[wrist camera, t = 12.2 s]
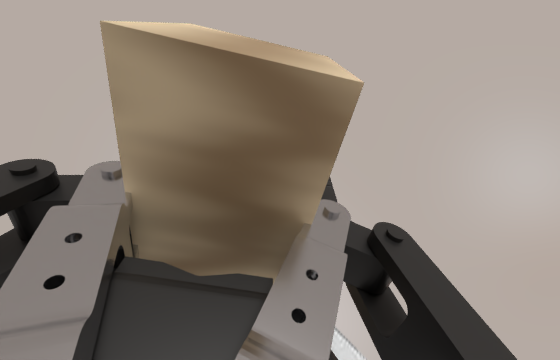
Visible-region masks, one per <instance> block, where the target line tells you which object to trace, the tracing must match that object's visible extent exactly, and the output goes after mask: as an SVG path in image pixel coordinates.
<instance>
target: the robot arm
mask: <svg viewBox="0 0 560 360" xmlns="http://www.w3.org/2000/svg"><path fill="white" fill-rule="evenodd" d="M132 208H133V203H132V196H131V193H129V192H125V189H124V182H123V176H122V169H121V162H120V161H109V162H102V163H99V164H96V165H93V166H91V167H90V168H88V169H87V170H86V172H85V174H84V175H58V174H57V171H56V168H55V165H54V164H53V163H52V162H49V161H46V160H41V159H24V160H17V161H12V162H8V163H5V164H3V165H0V216H2V215H4V214H6V213H7V214H8V216H9V218H10V220H11V222H12V224H13V226H14V229H12V230H10V231H8V232H7V233H5V234H3V235H1V236H0V360H338V359H337V357H336V356H335V355H334V353H333V352H332V350H331V344H332V339H333V333H334V328H335V322H336V317H337V312H338V306H339V301H340V295H341V289H342V284H343V281H344V282H346V286H347V288H348V290H349V292H350V294H351V297H352V299H353V301H354V303H355V305H356V307H357V309H358V311H359V313H360V316H361V318H362V320H363V322H364V324H365V326H366V328H367V330H368V332H369V334H370V336H371V338H372V340H373V343H374V345H375V347H376V349H377V351H378V353H379V355H380V357H381V359H382V360H517V359H516V358H515V356H514V355H513V354H512V353H511V352H510V351H509V349H508V348H507V347H506V346H505V345H504V344H503V343H502V341H501V340H500V339H499V338H498V337H497V336H496V334H495V333H494V332H493V331H492V330H491V329H490V328H489V326H488V325H487V324H486V323H485V322H484V321H483V319H481V317H480V316H479V315H478V314H477V312H476V311H475V310H474V309H473V308H472V307H471V306H470V304H469V303H468V302H467V301H466V300H465V299H464V298H463V296H462V295H461V294H460V293H459V292H458V291H457V289H456V288H455V287H454V286H453V285H452V284H451V282H450V281H449V280H448V279H447V278H446V277H445V275H444V274H443V273H442V272H441V271H440V270H439V269H438V267H437V266H436V265H435V264H434V263H433V262H432V260H431V259H430V258H429V257H428V256H427V255H426V254H425V252H424V251H423V250H422V249H421V248H420V247H419V245H418V244H417V243H416V242H415V241H414V240H413V238H412V237H411V236H410V235H409V234H408V233H407V232H406V231H404V230H403V229H401V228H400V227H398V226H396V225H394V224H391V223H386V222H379V223H377V224H376V225H375V226H374V227H373V229H372V230H370V229H368V228H365V227H363V226H360V225H358V224H356V223H354V222H352V221H350V219H351V217H350V213H349V212H348V210H347V209H346V208H345V207H343V206H342V205H341V204H339V203H337V199H336V196H335V193H334V189H333V186H332V182H331V179H330V176H329V179H328V182H327V185H326V187H325V190H324V193H323V195H322V198H321V201H320V203H319V206H318V209H317V211H316V214H315V217H314V220H313V222H312V224H306V223H304V225H303V227H302V229H301V231H300V233H298V234H297V236H296V238H295V240H294V242H293V244H292V246H291V248H290V250H289V252H288V254H287V256H286V258H285V260H284V263H283V265H282V267H281V269H280V271H279V273H278V275H277V277H276V279H275V281H274V283H273V278H266V277H260V276H253V275H246V274H240V273H236V274H222V275H209V276H197V275H194V274H192V273H189V272H187V271H184V270H182V269H179V268H177V267H174V266H172V265H169V264H167V263H164V262H160V261H153V260H147V259H140V258H139V249H138V245H135V244H132V237H131V230H130V217H131V213H132ZM392 281H393V283H394V284H395V286H396V287H397V289H398V290H399V292H400V293H401V295H402V296H403V298H404V300H405V302H406V304H407V308H408V315H406V313H405V312H404V310H403V308H402V307H401V305H400V304H399V302H398V300H397V299H396V297H395V296H394V294H393V293H392V291H391V289H390V288H389V284H390V283H391V282H392Z"/></svg>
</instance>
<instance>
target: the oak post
mask: <svg viewBox="0 0 560 360" xmlns="http://www.w3.org/2000/svg"><path fill="white" fill-rule="evenodd" d="M100 25H101V32H102V39H103V46H104V52H105V59H106V65H107V73H108V80H109V86H110V93H111V100H112V107H113V114H114V121H115V127H116V135H117V141H118V148H119V155H120V162H121V169H122V176H123V182H124V189H125V192H129V193H131V196H132V203H133V208H132V213H131V217H130V230H131V237H132V244H135V245H138V249H139V258H140V259H147V260H153V261H160V262H164V263H167V264H169V265H172V266H174V267H177V268H179V269H182V270H184V271H187V272H189V273H192V274H194V275H197V276H209V275H222V274H236V273H240V274H246V275H253V276H260V277H266V278H273V283H274V281H275V279H276V277H277V275H278V273H279V271H280V269H281V267H282V265H283V263H284V260H285V258H286V256H287V254H288V252H289V250H290V248H291V246H292V244H293V242H294V240H295V238H296V236H297V234H298V233H300V231H301V229H302V227H303V225H304V223H306V224H312V222H313V220H314V217H315V214H316V211H317V209H318V206H319V203H320V201H321V198H322V195H323V193H324V190H325V187H326V185H327V182H328V179H329V176H330V174H331V171H332V168H333V165H334V163H335V160H336V158H337V154H338V152H339V149H340V147H341V144H342V141H343V138H344V136H345V133H346V131H347V128H348V125H349V122H350V120H351V117H352V114H353V112H354V109H355V106H356V103H357V101H358V98H359V96H360V93H361V90H362V87H363V85H364V82H362V81H361V80H360V79H358V78H357V77H355V76H354V75H353V74H351V73H350V72H348V71H347V70H346V69H344V68H343V67H341V66H340V65H339V64H337V63H336V62H334V61H333V60H332V59H330V58H328V57H327V56H323V55H319V54H314V53H311V52H306V51H302V50H298V49H294V48H290V47H286V46H281V45H278V44H273V43H269V42H265V41H261V40H257V39H253V38H249V37H244V36H240V35H236V34H232V33H228V32H224V31H219V30H215V29H211V28H207V27H203V26H199V25H194V24H189V23H158V22H157V23H156V22H125V21H100Z"/></svg>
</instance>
